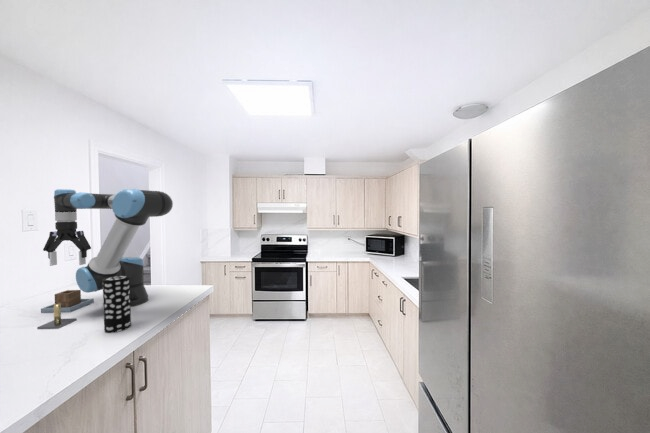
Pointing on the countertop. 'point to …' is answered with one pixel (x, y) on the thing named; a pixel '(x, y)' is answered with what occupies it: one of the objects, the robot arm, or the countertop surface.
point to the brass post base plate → (57, 320)
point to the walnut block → (68, 298)
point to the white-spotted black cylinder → (116, 303)
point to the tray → (83, 302)
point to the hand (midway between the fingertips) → (68, 264)
